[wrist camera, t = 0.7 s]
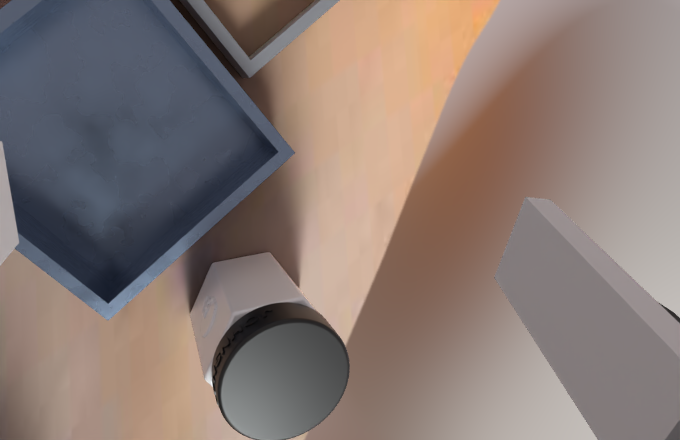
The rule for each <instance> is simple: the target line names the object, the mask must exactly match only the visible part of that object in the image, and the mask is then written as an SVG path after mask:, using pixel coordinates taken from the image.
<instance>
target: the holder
mask: <svg viewBox="0 0 680 440" xmlns="http://www.w3.org/2000/svg"><path fill="white" fill-rule="evenodd" d="M179 1H180V2H181V3H182V4H183V5H184V7H185V8H186V9H187V10H188V12H189V13H190V14H191V15H192V17H193V18H194V19H195V20H196V21H197V23H198V24H199V25H200V26H201V28H202V29H203V30H204V31H205V33H206V34H207V35H208V36H209V37H210V39H211V40H212V41H213V42H214V44H215V45H216V46H217V47H218V49H219V50H220V51H221V52H222V53H223V55H224V56H225V57H226V58H227V60H228V61H229V62H230V63H231V65H232V66H233V67H234V68H235V69H236V71H237V72H238V73H239V74H240V76H241V77H242V78H250V77H251V76H252V75H254V74H255V73H256V72H257V71H258V70H259V69H261V68H262V67H263V66H264V65H265V64H266V63H268V62H269V61H270V60H271V59H272V58H273V57H275V56H276V55H277V54H278V53H279V52H280V51H281V50H283V49H284V48H285V47H286V46H287V45H288V44H290V43H291V42H292V41H293V40H294V39H295V38H297V37H298V36H299V35H300V34H301V33H302V32H304V31H305V30H306V29H307V28H308V27H309V26H311V25H312V24H313V23H314V22H315V21H316V20H317V19H319V18H320V17H321V16H322V15H323V14H324V13H326V12H327V11H328V10H329V9H330V8H331V7H333V6H334V5H335V4H336V3H337V2H338V1H340V0H315V1H314V2H313V3H311V4H310V5H309V6H308V7H307V8H306V9H304V10H303V11H302V12H301V13H300V14H299V15H297V16H296V17H295V18H294V19H293V20H292V21H290V22H289V23H288V24H287V25H286V26H285V27H283V28H282V29H281V30H280V31H279V32H277V33H276V34H275V35H274V36H273V37H272V38H270V39H269V40H268V41H267V42H266V43H265V44H263V45H262V46H261V47H260V48H259V49H258V50H256V51H255V52H254V53H253V54H252V55H251V56H249V57H248V56H247V55H246V54H245V52H244V51H243V50H242V49H241V47H240V46H239V45H238V43H237V42H236V41H235V40H234V38H233V37H232V36H231V35H230V33H229V32H228V31H227V29H226V28H225V27H224V26H223V24H222V23H221V22H220V21H219V19H218V18H217V17H216V16H215V14H214V13H213V12H212V10H211V9H210V8H209V7H208V5H207V4H206V3H205V2H204V0H179Z"/></svg>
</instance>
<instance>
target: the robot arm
mask: <svg viewBox="0 0 680 440" xmlns="http://www.w3.org/2000/svg"><path fill="white" fill-rule="evenodd" d="M18 244H19V238H18V232H17V226H16V220H15V214H14V209H13V203H12V197H11V191H10V185H9V179H8V173H7V167H6V161H5V155H4V150H3V144H2V141H0V265H1V264H2V263H3V262H4V260H5V259H6V258H7V257H8V256H9V254H10V253H11V252H12V251H13V250H14V248H15V247H16V246H17V245H18ZM494 278H495V280H496V281H497V283H498V284H499V286H500V288H501V289H502V291H503V292H504V294H505V295H506V297H507V298H508V300H509V302H510V303H511V305H512V306H513V307H514V309H515V311H516V312H517V314H518V316H519V317H520V319H521V320H522V322H523V323H524V325H525V326H526V328H527V330H528V331H529V333H530V334H531V336H532V337H533V339H534V341H535V342H536V344H537V345H538V347H539V348H540V350H541V352H542V353H543V355H544V356H545V358H546V359H547V361H548V362H549V364H550V366H551V367H552V369H553V370H554V372H555V373H556V375H557V376H558V378H559V379H560V381H561V383H562V384H563V386H564V387H565V389H566V391H567V392H568V394H569V395H570V397H571V398H572V400H573V401H574V403H575V405H576V406H577V408H578V409H579V411H580V412H581V414H582V415H583V417H584V418H585V420H586V422H587V423H588V425H589V426H590V428H591V430H592V431H593V433H594V434H595V436H596V437H597V439H598V440H680V318H679V317H678V316H677V315H676V314H675V313H674V312H672V311H671V310H669V309H668V308H666V307H664V306H663V305H661V304H660V303H658V302H657V301H656V300H655V299H654V298H652V296H651V295H650V294H649V293H647V292H646V291H645V290H644V289H643V288H642V287H641V286H640V285H639V284H638V283H637V282H636V281H635V280H634V279H633V278H632V277H631V276H630V275H629V274H628V273H627V272H625V271H624V270H623V269H622V268H621V267H620V266H619V265H618V264H617V263H616V262H615V261H614V260H613V259H612V258H611V257H610V256H609V255H608V254H607V253H606V252H605V251H604V250H603V249H602V248H600V247H599V246H598V245H597V244H596V243H595V242H594V241H593V240H592V239H591V238H590V237H589V236H588V235H587V234H586V233H585V232H584V231H583V230H582V229H580V228H579V226H577V225H576V224H575V223H574V222H573V221H572V220H571V219H570V218H569V217H568V216H567V215H566V214H565V213H564V212H563V211H562V210H561V209H560V208H558V206H557V205H556V204H555V203H553V202H552V201H551V200H549V199H540V198H531V197H525V199H524V202H523V204H522V207H521V210H520V212H519V215H518V217H517V220H516V222H515V225H514V228H513V230H512V233H511V235H510V238H509V241H508V243H507V246H506V248H505V251H504V254H503V256H502V259H501V262H500V264H499V267H498V269H497V272H496V274H495V277H494Z"/></svg>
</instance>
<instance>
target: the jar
mask: <svg viewBox="0 0 680 440" xmlns="http://www.w3.org/2000/svg"><path fill="white" fill-rule="evenodd" d="M190 318H191V323H192V327H193V331H194V336H195V340H196V345H197V349H198V353H199V358H200V362H201V366H202V371H203V375H204V379H205V380H206V381H207V382H208V383H209V384H210V385H211V386H212V387H213V390H214V394H215V397H216V401H217V404H218V405H219V408H220V410H221V413H222V415H223V417H224V418H225V420H226V421H227V422H228V424H229V425H230V426H231V427H232V428H233V429H234V430H236V431H237V432H238V433H240V434H242V435H244V436H246V437H248V438H251V439H255V440H286V439H290V438H293V437H296V436H299V435H301V434H304V433H305V432H307V431H309V430H311V429H312V428H314V427H315V426H317V425H318V424H320V423H321V422H322V421H323V420H324V419H325V418H326V417H327V416H328V415H329V414H330V413H331V412H332V411H333V410H334V408H335V407H336V406H337V404H338V403H339V401H340V399H341V397H342V396H343V393H344V391H345V389H346V386H347V382H348V378H349V367H350V365H349V357H348V353H347V350H346V347H345V345H344V343H343V341H342V340H341V338H340V337H339V335H338V334H337V333H336V332H335V330H334V329H333V328H332V327H331V325H330V324H329V323H328V322H327V320H326V319H325V318H324V317H323V316H322V315H321V314H320V313H319V312H318V311H317V310H316V309H315V307H314V306H313V305H312V304H311V302H310V301H309V300H308V298H307V297H306V296H305V295H304V293H303V292H302V291H301V290H300V288H299V287H298V286H297V285H296V283H295V282H294V281H293V280H292V278H291V277H290V276H289V275H288V274H287V272H286V271H285V270H284V269H283V267H282V266H281V265H280V264H279V262H278V261H277V260H276V259H275V258H274V256H273V255H272V254H271V253H270V252H265V253H260V254H255V255H250V256H245V257H239V258H234V259H229V260H224V261H219V262H214V263H212V264H211V266H210V269H209V271H208V273H207V276H206V278H205V280H204V283H203V285H202V287H201V290H200V292H199V294H198V297H197V299H196V301H195V304H194V306H193V308H192V311H191V313H190Z"/></svg>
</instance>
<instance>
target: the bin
mask: <svg viewBox="0 0 680 440" xmlns="http://www.w3.org/2000/svg"><path fill="white" fill-rule="evenodd" d="M0 141H2V144H3V150H4V155H5V161H6V167H7V173H8V179H9V185H10V191H11V197H12V203H13V209H14V214H15V220H16V226H17V232H18V238H19V244H18V245H17V246H16V247H15V249H16V250H17V251H19V252H20V253H21V254H23V255H24V256H25V257H27V258H28V259H29V260H30V261H32V262H33V263H34V264H36V265H37V266H38V267H39V268H41V269H42V270H43V271H45V272H46V273H47V274H48V275H50V276H51V277H52V278H54V279H55V280H56V281H58V282H59V283H60V284H61V285H63V286H64V287H65V288H67V289H68V290H69V291H70V292H72V293H73V294H74V295H76V296H77V297H78V298H80V299H81V300H82V301H83V302H85V303H86V304H87V305H89V306H90V307H91V308H92V309H94V310H95V311H96V312H98V313H99V314H100V315H102V316H103V317H104V318H105V319H107V320H109V319H110V318H112V317H113V316H114V315H115V314H116V313H117V312H118V311H119V310H120V309H122V308H123V307H124V306H125V305H126V304H127V303H128V302H129V301H131V300H132V299H133V298H134V297H135V296H136V295H137V294H138V293H139V292H141V291H142V290H143V289H144V288H145V287H146V286H147V285H148V284H149V283H151V282H152V281H153V280H154V279H155V278H156V277H157V276H158V275H160V274H161V273H162V272H163V271H164V270H165V269H166V268H167V267H168V266H170V265H171V264H172V263H173V262H174V261H175V260H176V259H177V258H178V257H180V256H181V255H182V254H183V253H184V252H185V251H186V250H187V249H189V248H190V247H191V246H192V245H193V244H194V243H195V242H196V241H197V240H199V239H200V238H201V237H202V236H203V235H204V234H205V233H206V232H208V231H209V230H210V229H211V228H212V227H213V226H214V225H215V224H216V223H218V222H219V221H220V220H221V219H222V218H223V217H224V216H225V215H226V214H228V213H229V212H230V211H231V210H232V209H233V208H234V207H235V206H237V205H238V204H239V203H240V202H241V201H242V200H243V199H244V198H245V197H247V196H248V195H249V194H250V193H251V192H252V191H253V190H254V189H255V188H257V187H258V186H259V185H260V184H261V183H262V182H263V181H264V180H266V179H267V178H268V177H269V176H270V175H271V174H272V173H273V172H274V171H276V170H277V169H278V168H279V167H280V166H281V165H282V164H283V163H285V162H286V161H287V160H288V159H289V158H290V157H291V156H292V155H293V154H295V152H294V151H293V150H292V149H291V147H290V146H289V145H288V144H287V143H286V141H285V140H284V139H283V138H282V136H281V135H280V134H279V133H278V132H277V130H276V129H275V128H274V127H273V125H272V124H271V123H270V122H269V121H268V119H267V118H266V117H265V116H264V115H263V113H262V112H261V111H260V110H259V108H258V107H257V106H256V105H255V104H254V102H253V101H252V100H251V99H250V97H249V96H248V95H247V94H246V93H245V91H244V90H243V89H242V88H241V87H240V85H239V84H238V83H237V82H236V80H235V79H234V78H233V77H232V76H231V74H230V73H229V72H228V71H227V69H226V68H225V67H224V66H223V65H222V63H221V62H220V61H219V60H218V59H217V57H216V56H215V55H214V54H213V52H212V51H211V50H210V49H209V48H208V46H207V45H206V44H205V43H204V41H203V40H202V39H201V38H200V37H199V35H198V34H197V33H196V32H195V31H194V29H193V28H192V27H191V26H190V24H189V23H188V22H187V21H186V20H185V18H184V17H183V16H182V15H181V14H180V12H179V11H178V10H177V9H176V7H175V6H174V5H173V4H172V3H171V1H170V0H11V1H10V2H9V3H8V4H6V5H5V6H4V7H3V8H1V9H0Z"/></svg>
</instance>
